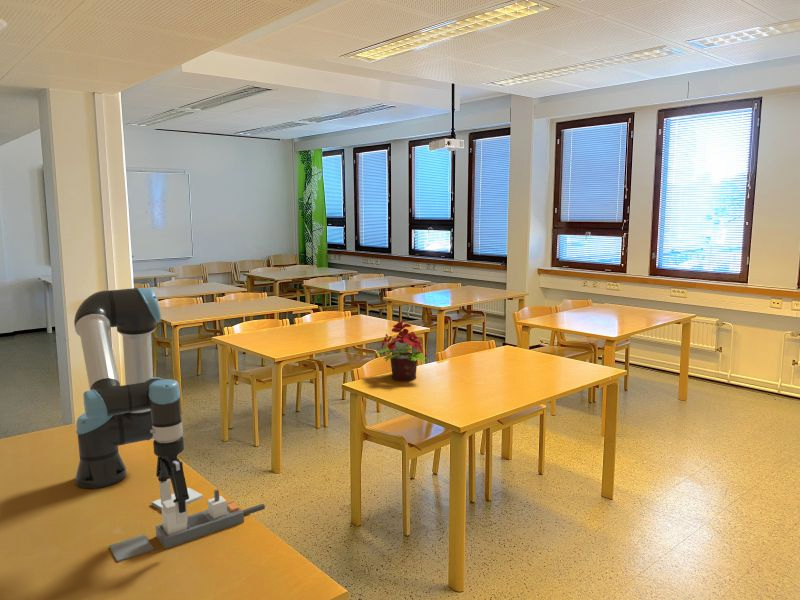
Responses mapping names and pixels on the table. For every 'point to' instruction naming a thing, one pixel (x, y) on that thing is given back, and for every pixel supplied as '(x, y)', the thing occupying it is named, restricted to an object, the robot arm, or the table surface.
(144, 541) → the mat
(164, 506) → the block
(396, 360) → the potted plant
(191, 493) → the external hard drive
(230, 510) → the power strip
